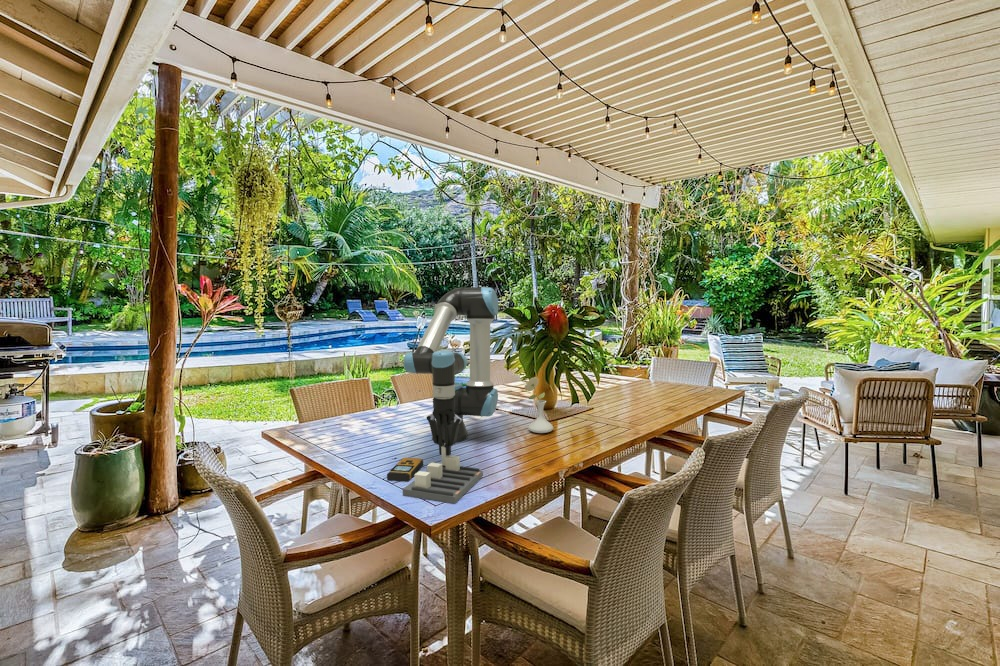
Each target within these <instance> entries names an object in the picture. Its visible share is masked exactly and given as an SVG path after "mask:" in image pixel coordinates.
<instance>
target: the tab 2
mask: <svg viewBox="0 0 1000 666" xmlns="http://www.w3.org/2000/svg"><path fill="white" fill-rule="evenodd" d="M426 472H430V473H431V478H436V479H441V478H442V477H443V474H442V463H437V462H430V463H428V465H426Z"/></svg>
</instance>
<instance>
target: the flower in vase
mask: <svg viewBox="0 0 1000 666" xmlns="http://www.w3.org/2000/svg"><path fill="white" fill-rule="evenodd" d="M539 381H540V379H539V377H537V376H534V377H531V378H530V379H528V381H526V384H525V385H524V391H526V392H531V391H533V390H534V393H535V394H532V395H530V396H529V398H528V400H534V402H535V404H536V405H537V418H535V419H534V420H533V421H532V422H531V423H530V424H529V425H528V427H527V429H528V430H529V431H531V432H533V433H536V434H537V433H538V434H546V433H549V432H552V431H553V430H554V426H553V424H552V423H550V421H548V420H547V419H546V418H545V416H544V407H545V405H546V403H547V400H544V399H543V398H544V397H545V395H546V393H545V391H544V392H542V393H540V394H539V395H538V394H537V391H536V387H537V386H538V385H539ZM536 398H537V400H535V399H536Z"/></svg>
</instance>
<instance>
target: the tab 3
mask: <svg viewBox="0 0 1000 666" xmlns="http://www.w3.org/2000/svg"><path fill="white" fill-rule="evenodd" d="M445 465H446V470H453V471H459V470H460V466H461V457H460V456H456V455H449V456H448V457H446V458H445Z"/></svg>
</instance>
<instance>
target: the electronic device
mask: <svg viewBox="0 0 1000 666" xmlns="http://www.w3.org/2000/svg"><path fill="white" fill-rule="evenodd" d="M423 465H424V459H423V458H416V457H403V458H401V459H400V460H399V461H398V462H397V463H396V464H395V465H394V466H393V467H392V468H391V469H390V470H389V471H388V473H387V474H386V480H387V481H388V482H409V481H410V480H411V479H412V477H413V478H414V477H415V475H414V474H416V473H417V472H419V471H420V470H421V469H422V467H423Z"/></svg>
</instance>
